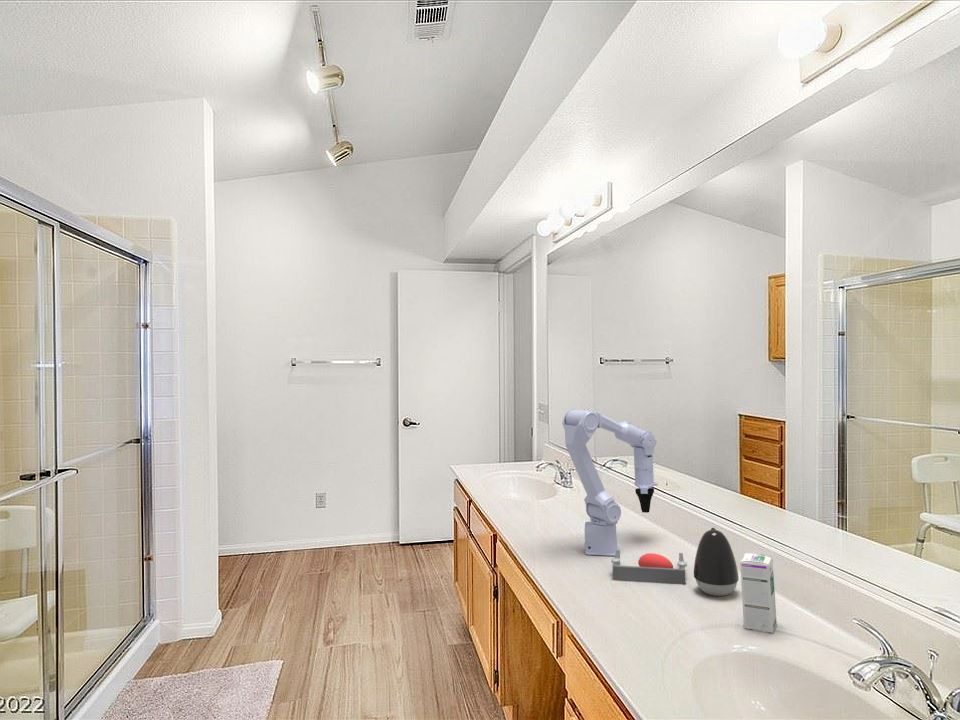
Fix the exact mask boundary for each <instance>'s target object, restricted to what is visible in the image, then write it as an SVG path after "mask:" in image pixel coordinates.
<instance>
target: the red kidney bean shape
mask: <svg viewBox="0 0 960 720" xmlns="http://www.w3.org/2000/svg"><path fill="white" fill-rule="evenodd" d="M637 563H638V567H655V568H674V565H673V563H672V562H671V561H670V559H669V558H667V557H666V556H663V555H662V554H658V553H654V552H653V553H644V554H643V555H641V556H640V557H639V558H638V561H637Z"/></svg>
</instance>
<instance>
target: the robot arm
mask: <svg viewBox="0 0 960 720" xmlns="http://www.w3.org/2000/svg"><path fill="white" fill-rule="evenodd" d="M561 424H562V427H563V429H564V441H565V447H566V449H567V452H568V454H569V457H570V459H571V461H572V463H573V466H574V468H575V470H576V472H577V475H578V477H579V479H580V482H581V484H582V486H583V488H584V491H585V493H586V496H585V497H584V499H583V501H584V504H585V512H586V515H587V516H588V517H589V518H590V521H585V522H584V549H585V553H584V554H585V555H588V556H590V555H591V556H608V557H609V556H611V557H615V553H616V550H620V546H618V540H617V539H618V538H617V524H618V522H619V520H620V519H621V515H622V509H621V506H620V505H619V503H617V502H616V501H615V499H614V497H613V496H612V495H611V494H610V493H609V492H608V491H607V490H606V489H605V487H604V484H603V482H602V480H601V477H600V475H599V473H598V470H597V468H596V466H595V463H594V461H593V459H592V457H591V454H590V452H589V449H588V447H587V443H588V442H589V441H590V439H591V438H592V437H593V435H594V434H595V432H596V430H597V429H603V430H606V431H607V432H608V431H609V432H611V433H614V436H615V439H617V440H619V441H622V442H623V443H626V444H628V445H630V447H631V448H633V460H634V461H633V465H634V466H633V468H634V486H635V487H637V488H635V494H636V496H637V498H638V500H639V505H640V510H641V512H642V513H647V514H648V513H650V510H651V503H652V502H651V501H652V497H653V495H654V493H655V488H654V487H655V486H656V487H657V486H658V485H659V484H658V482H655V479H654V453H655V447H656V445H657V439H656V436H655V435H654V434H653V432H652V431H647V430H643V429H642V427H640V426H635V425H633V424H632V422H631V421H628V420H625V421H620V422H618V421H615V420H614V419H611V418H609V417H607V416H606V415H604V414H603V413H601V412H598V411H595V410H591V409H590V410H583V409H576V408H570V409H568V410H567V411H566V412H565V414H564V416H563V418H562V421H561Z"/></svg>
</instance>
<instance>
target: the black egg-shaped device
mask: <svg viewBox="0 0 960 720" xmlns="http://www.w3.org/2000/svg"><path fill="white" fill-rule="evenodd" d="M693 563H694V565H693V577H694V579H695V582H696V584H697V586H698V587H699V589H700V590H701V591H703V593H705V594H707V595H710V596H714V597H715V596H716V597H725V596H728V595H730V594H732V593H733V592H734V591H735V589H736V588H737V585H738V582H739V571H738V565H737V562H736V557H735V555H734V551H733V548H732V547H731V544H730V541H729V540H728V538H727V537H726V535H725V534H724V533H723V532H721V531H720V530H717V529H716V528H715V527H711V528H710V529H709V530H707V531H705V532H704V533H703V534H702V536H701V538H700V540H699V543H698V546H697V549H696V553H695V559H694V562H693Z"/></svg>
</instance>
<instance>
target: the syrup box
mask: <svg viewBox="0 0 960 720" xmlns="http://www.w3.org/2000/svg"><path fill="white" fill-rule="evenodd" d="M773 562H774V560H773V556H770V555H766V554H762V553H760V554H759V553H745V552H744V554H743V556H742V557H741V559H740V561H739V565H740V566H739V567H740V582H741V584H740V585H741V599H742V601H741V602H742V614H743V615H742V617H743V628H744V629H746V628H747V629H748V630H750V629H753V630H752V631H755V630H759V631H758V632H761V631H765V632H764V633H767V632H771V633H770V634H774V631H775V629H774V628H776V626H777V622H778V621H777V608H776V596H775V595H776V593H775V591H776V590H775V576H774V565H773V564H774V563H773ZM747 629H746V630H747Z"/></svg>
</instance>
